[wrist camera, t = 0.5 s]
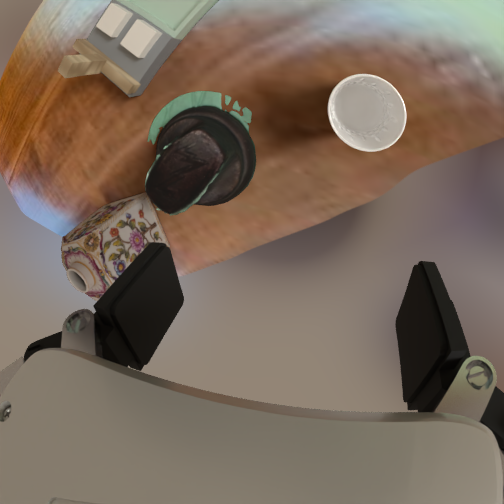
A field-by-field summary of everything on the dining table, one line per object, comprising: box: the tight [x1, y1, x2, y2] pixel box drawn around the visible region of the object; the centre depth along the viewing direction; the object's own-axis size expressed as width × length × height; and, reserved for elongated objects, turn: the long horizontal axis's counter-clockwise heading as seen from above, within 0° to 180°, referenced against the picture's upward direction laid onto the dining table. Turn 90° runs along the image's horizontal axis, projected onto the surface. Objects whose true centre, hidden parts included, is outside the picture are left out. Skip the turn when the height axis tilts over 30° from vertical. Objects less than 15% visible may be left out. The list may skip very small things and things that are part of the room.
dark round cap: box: [145, 91, 256, 215], centre depth 36 cm, size 20×20×9 cm
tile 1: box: [96, 3, 133, 37], centre depth 25 cm, size 4×4×2 cm
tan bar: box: [58, 39, 141, 94], centre depth 27 cm, size 2×16×9 cm, turn 46°
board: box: [79, 0, 182, 97], centre depth 30 cm, size 11×15×3 cm
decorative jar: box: [61, 193, 170, 301], centre depth 43 cm, size 12×12×18 cm
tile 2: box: [120, 19, 162, 58], centre depth 27 cm, size 4×4×2 cm
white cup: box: [328, 74, 406, 152], centre depth 26 cm, size 8×8×10 cm
